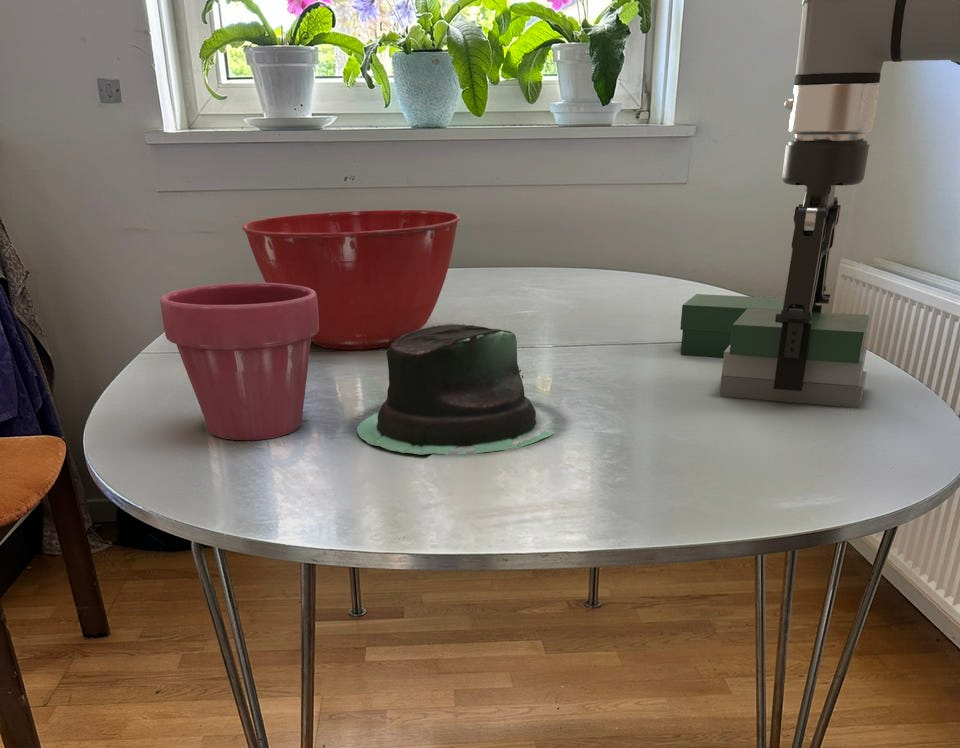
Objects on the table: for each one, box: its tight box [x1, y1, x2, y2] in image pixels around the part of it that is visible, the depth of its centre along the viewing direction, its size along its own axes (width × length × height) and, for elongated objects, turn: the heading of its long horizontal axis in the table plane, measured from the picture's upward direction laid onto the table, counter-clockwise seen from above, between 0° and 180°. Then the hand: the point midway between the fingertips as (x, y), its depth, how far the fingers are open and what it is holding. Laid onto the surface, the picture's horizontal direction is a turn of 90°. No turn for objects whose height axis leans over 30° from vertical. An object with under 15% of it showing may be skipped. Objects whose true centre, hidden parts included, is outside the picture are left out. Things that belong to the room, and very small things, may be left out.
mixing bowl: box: [241, 209, 461, 350], centre depth 127 cm, size 28×28×16 cm
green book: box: [729, 309, 870, 363], centre depth 98 cm, size 12×10×3 cm
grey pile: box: [718, 346, 868, 409], centre depth 100 cm, size 14×7×5 cm, turn 67°
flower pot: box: [159, 282, 319, 441], centre depth 91 cm, size 14×14×13 cm
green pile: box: [679, 293, 785, 358], centre depth 119 cm, size 13×8×6 cm, turn 67°
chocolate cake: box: [356, 322, 556, 456], centre depth 91 cm, size 15×19×20 cm
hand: (793, 377), depth 100 cm, fingers closed on green book, 9 cm apart
